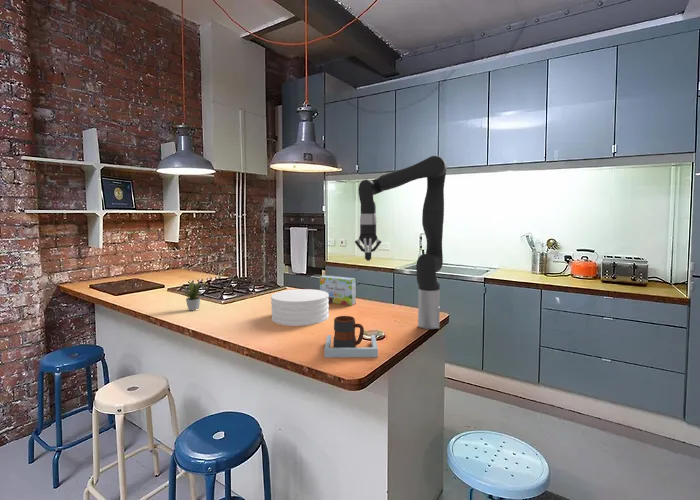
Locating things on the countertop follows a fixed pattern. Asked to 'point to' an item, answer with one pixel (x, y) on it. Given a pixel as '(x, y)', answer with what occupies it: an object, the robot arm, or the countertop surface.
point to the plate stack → (300, 307)
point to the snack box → (339, 289)
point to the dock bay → (351, 350)
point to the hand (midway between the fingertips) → (368, 260)
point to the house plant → (193, 296)
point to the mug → (346, 332)
